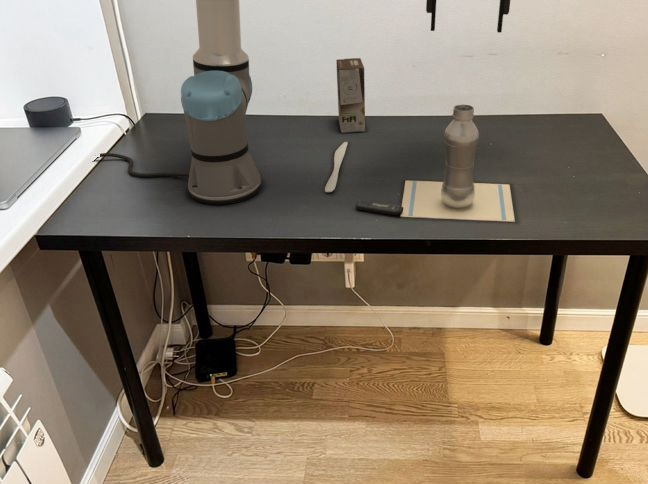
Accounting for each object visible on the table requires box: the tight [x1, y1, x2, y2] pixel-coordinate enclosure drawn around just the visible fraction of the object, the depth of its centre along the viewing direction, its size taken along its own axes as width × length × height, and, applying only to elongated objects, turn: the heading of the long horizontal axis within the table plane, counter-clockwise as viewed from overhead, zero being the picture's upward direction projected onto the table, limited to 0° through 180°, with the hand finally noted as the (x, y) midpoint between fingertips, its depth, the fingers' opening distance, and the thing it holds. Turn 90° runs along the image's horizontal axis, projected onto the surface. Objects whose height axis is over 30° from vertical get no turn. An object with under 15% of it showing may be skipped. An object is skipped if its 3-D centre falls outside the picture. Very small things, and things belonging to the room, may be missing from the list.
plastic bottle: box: [441, 104, 480, 208], centre depth 125 cm, size 6×7×20 cm
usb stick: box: [355, 199, 403, 216], centre depth 128 cm, size 10×3×2 cm, turn 69°
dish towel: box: [399, 180, 516, 223], centre depth 132 cm, size 22×16×1 cm
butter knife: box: [324, 141, 349, 193], centre depth 146 cm, size 1×27×3 cm
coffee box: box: [335, 57, 366, 134], centre depth 163 cm, size 9×6×16 cm
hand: (465, 30), depth 134 cm, fingers open, 13 cm apart
